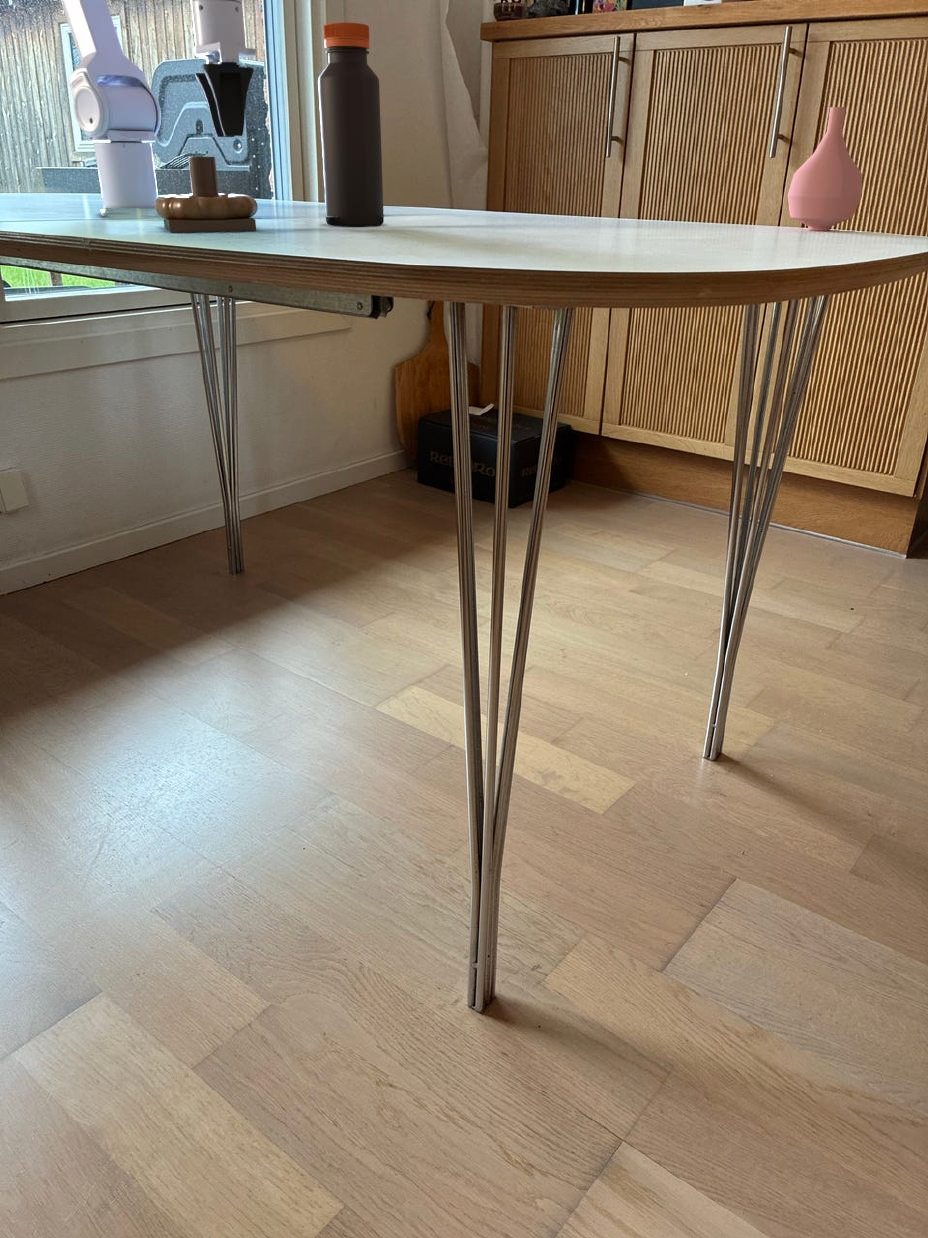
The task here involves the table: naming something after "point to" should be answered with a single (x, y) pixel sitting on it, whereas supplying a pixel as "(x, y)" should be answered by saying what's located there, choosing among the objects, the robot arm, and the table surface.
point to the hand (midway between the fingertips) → (229, 136)
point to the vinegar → (350, 129)
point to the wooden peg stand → (207, 186)
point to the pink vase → (826, 181)
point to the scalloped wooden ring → (206, 207)
